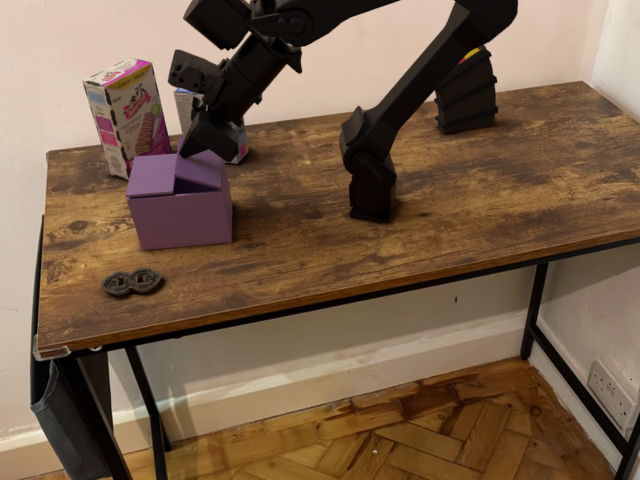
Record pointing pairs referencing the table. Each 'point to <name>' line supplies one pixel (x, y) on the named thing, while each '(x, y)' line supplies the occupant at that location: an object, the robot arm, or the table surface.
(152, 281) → the corroded twin loop
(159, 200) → the box
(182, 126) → the ink cartridge box
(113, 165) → the candy bar box
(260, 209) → the table surface
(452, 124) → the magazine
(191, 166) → the flap
